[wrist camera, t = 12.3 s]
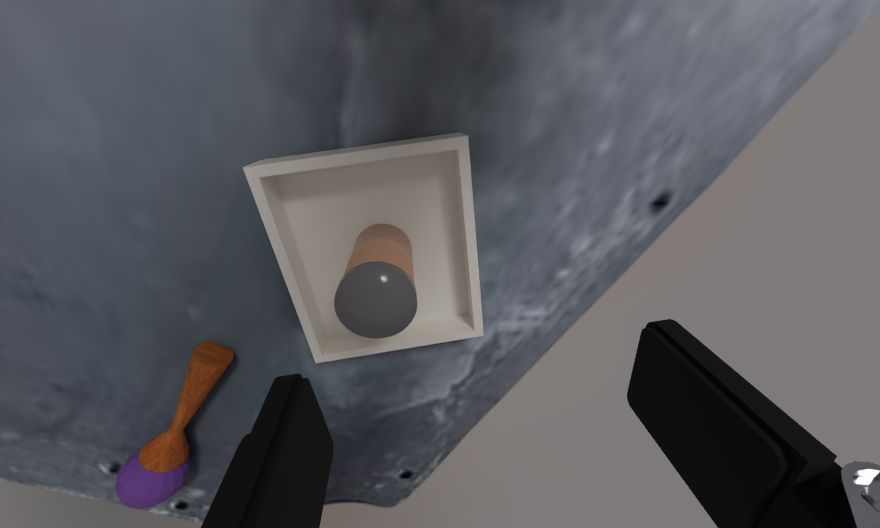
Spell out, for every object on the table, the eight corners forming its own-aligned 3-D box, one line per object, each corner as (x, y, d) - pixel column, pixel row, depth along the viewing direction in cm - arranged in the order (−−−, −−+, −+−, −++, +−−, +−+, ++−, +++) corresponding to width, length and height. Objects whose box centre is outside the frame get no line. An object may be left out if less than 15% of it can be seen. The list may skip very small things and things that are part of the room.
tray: (261, 159, 26) (242, 167, 23) (460, 131, 27) (468, 135, 24) (323, 339, 34) (315, 363, 31) (476, 314, 34) (483, 335, 31)
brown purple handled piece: (242, 383, 30) (167, 521, 35) (253, 341, 36) (186, 467, 40) (164, 369, 28) (94, 521, 32) (187, 325, 33) (124, 463, 37)
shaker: (346, 227, 28) (324, 275, 20) (407, 218, 28) (410, 261, 20) (360, 281, 30) (345, 344, 22) (417, 272, 31) (422, 331, 23)
